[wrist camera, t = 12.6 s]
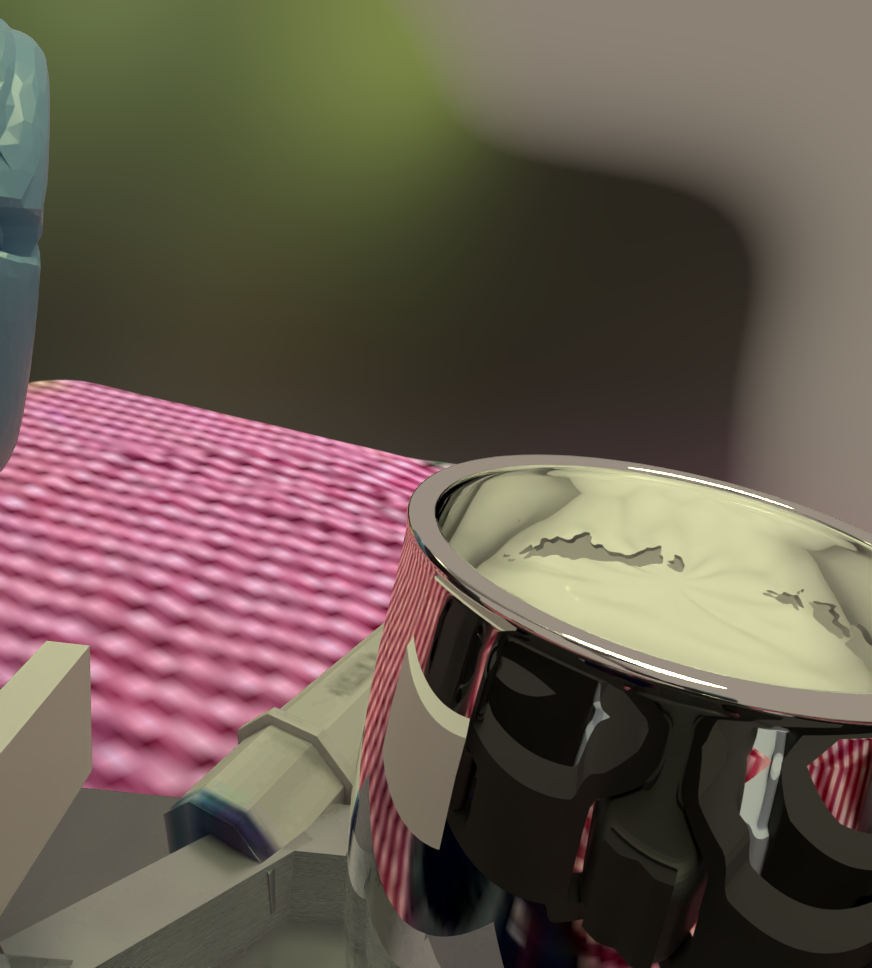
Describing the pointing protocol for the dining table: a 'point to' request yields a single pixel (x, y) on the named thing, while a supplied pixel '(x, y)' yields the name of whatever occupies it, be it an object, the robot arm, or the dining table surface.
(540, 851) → the chrome metal cup
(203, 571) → the dining table surface
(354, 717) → the beige knobbed rod
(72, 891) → the collar
